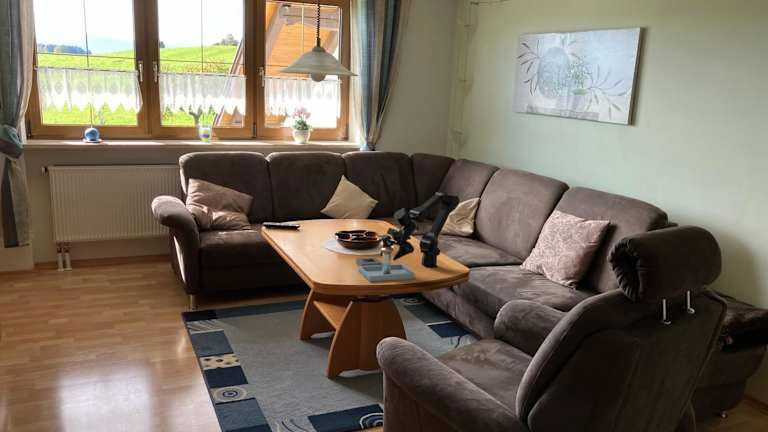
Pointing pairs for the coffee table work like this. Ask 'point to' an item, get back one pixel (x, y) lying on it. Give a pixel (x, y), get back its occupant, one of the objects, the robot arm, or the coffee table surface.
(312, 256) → the coffee table surface
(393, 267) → the tray
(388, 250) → the pin
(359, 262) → the block
